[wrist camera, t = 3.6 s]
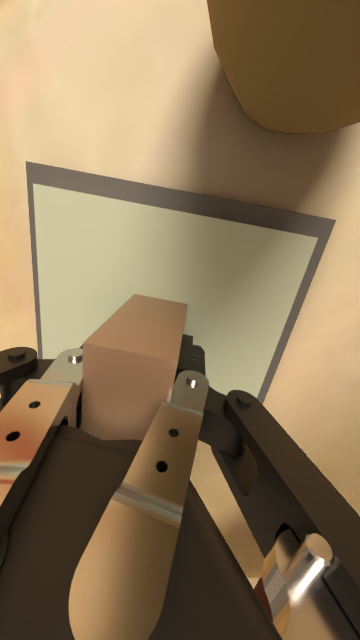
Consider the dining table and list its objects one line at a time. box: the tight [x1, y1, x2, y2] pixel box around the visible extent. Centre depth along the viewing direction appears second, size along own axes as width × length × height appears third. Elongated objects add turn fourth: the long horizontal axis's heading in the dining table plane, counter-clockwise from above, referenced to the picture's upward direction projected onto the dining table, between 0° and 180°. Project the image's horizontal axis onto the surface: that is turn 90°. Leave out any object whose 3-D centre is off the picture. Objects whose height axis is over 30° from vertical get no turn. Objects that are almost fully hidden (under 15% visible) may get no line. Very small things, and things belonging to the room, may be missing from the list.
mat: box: [26, 161, 336, 404], centre depth 15 cm, size 16×16×1 cm
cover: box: [33, 183, 318, 441], centre depth 11 cm, size 14×14×7 cm
